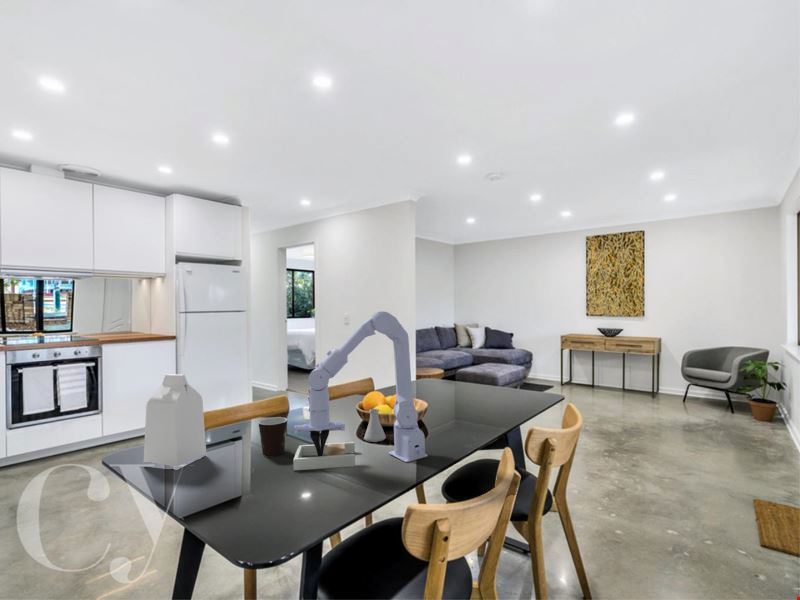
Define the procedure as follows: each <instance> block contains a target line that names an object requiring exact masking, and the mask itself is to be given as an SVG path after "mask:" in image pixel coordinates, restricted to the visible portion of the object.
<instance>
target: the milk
mask: <svg viewBox="0 0 800 600" xmlns="http://www.w3.org/2000/svg"><path fill="white" fill-rule="evenodd" d="M145 410H146V411H145V427H144V429H145V430H144V445H143V446H144V448H143V463H144V462H152V463H158V464H165V465H169V466H179V465H181V464H183V463H185V462H187V461H190V460H191V459H194V458H196V457H198V456H201V455H203V454H205V453H206V454H207V445H206V434H205V433H206V430H205V417H204V403H203V397H202V394H200V393H199V392H198V391H197V390H196V389H195V388H194V387H192V385H190V384H188V380H187V378H186V374H175V373H174V374H171V373H169V374H165V375H164V378H163V381H162V384H161V385H160V386H159V387H158V388H157V390H156V391H155V392H154V393H153V394H152V395H151V396H150V397H149V399H148V401H147V403H146V408H145Z"/></svg>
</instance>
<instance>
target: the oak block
mask: <svg viewBox="0 0 800 600" xmlns="http://www.w3.org/2000/svg"><path fill="white" fill-rule="evenodd" d="M342 443H343V444H329V443H328V444H329V445H328V446H327V455H326V456H335V455H346V453H345V447H344V442H342Z"/></svg>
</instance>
